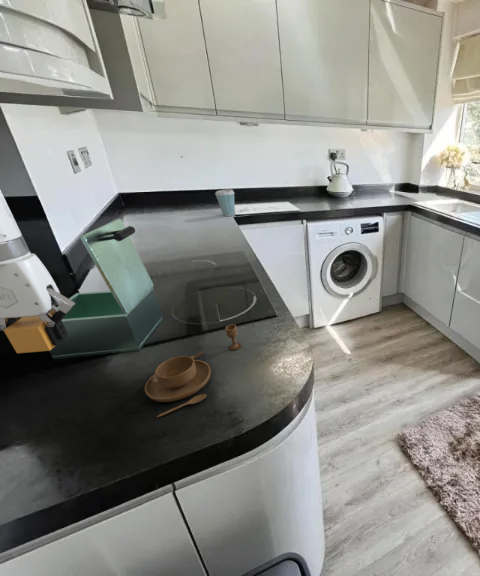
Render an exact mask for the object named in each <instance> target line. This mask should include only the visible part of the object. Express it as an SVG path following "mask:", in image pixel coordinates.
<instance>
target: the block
mask: <svg viewBox="0 0 480 576" xmlns="http://www.w3.org/2000/svg"><path fill="white" fill-rule="evenodd" d="M49 315H50V316H51V317H52V315H51V314H49ZM46 327H47V325H46V324H45V323H44V322H43V321H42V320H41V319H40V318H39V317H38V316H31V317H20V318H18V321H16V322H15V323H13V324H12V325H10V326H9V327H7V328H6V329H4V331H3V333H4V335H6V337H7V339H8V340H9V343H10V344H11V345H12V348H13V349H14V351H15V352H16V354H26V353H39V352H49V351H50V350H51V349H52V348H54V347H55V346H54V345H53V344H52V343H51V341H50V339H49V337H48V335H47V333H46V331H45V328H46Z"/></svg>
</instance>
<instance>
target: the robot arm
mask: <svg viewBox="0 0 480 576" xmlns="http://www.w3.org/2000/svg"><path fill="white" fill-rule="evenodd" d="M14 217H15V216H14V214H13V213H12V211H11V209H10V207H9V205H8V203H7V201H6V198H5V197H4V194H3V192H2V190H1V189H0V331H3V332H4V329H6V328H7V327H9V326H10V325H12V324H13V323H15V322H16V321H18V320H19V318H22V317H31V316H38V317H39V318H40V319H41V320H42V321H43V322H44V323H45V324H46V325H47V327H46V328H45V331H46V333H47V335H48V337H49V339H50V341H51V343H52V344H53V345H54V346H56V345H59V344H60V343H61V342H63V341H64V340H65V339H66V338H67V337H68V334H67V331H66V329H65V327H64V325H63V323H62V321H61V320H62V319H64V317H65V315H66V314H67V313H68V312H69V311H70V310H71V309H72V308H73V307H74V306H75V305H76V304H75V303H74V302H73V301H71V300H70V299H69V298H68V297H66V296H64V295H63V294H61V291H60V289H59V288H58V286H57V284H56V282H55V280H54V279H53V277H52V275H51V274H50V272H49V270H48V269H47V268H46V266H45V265H44V263H43V261H41V259H40V258H39V257H38V256H37V254H36V253H32V252H31V251H30V249H29V247H28V244H27V242H26V241H25V238H24V236H23V235H22V232H21V229H20V228H19V226H18V224H17V221H16V219H15V218H14ZM56 305H57V306H60V309H59V310H58V309H57V306H56ZM48 313H50V314H51V315H52V317H51V316H50V315H49V314H48Z"/></svg>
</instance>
